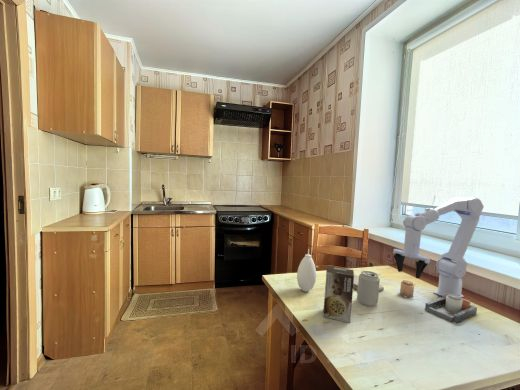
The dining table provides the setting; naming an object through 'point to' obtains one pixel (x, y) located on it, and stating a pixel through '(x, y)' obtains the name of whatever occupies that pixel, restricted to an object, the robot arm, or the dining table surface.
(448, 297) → the grey jar
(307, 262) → the sauce bottle
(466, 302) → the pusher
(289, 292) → the dining table surface
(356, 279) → the washcloth
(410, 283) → the terracotta jar
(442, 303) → the grey tray
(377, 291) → the can
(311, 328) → the dining table surface
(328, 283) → the coffee box
